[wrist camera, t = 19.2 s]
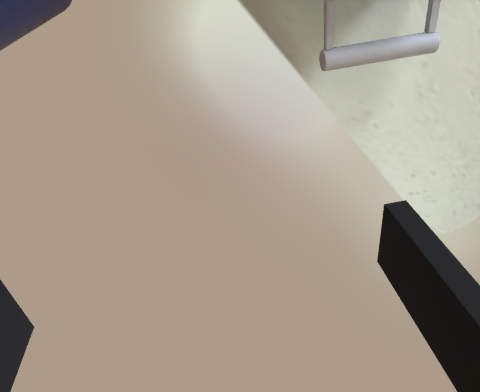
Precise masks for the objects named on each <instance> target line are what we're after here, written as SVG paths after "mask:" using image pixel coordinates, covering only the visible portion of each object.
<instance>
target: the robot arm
mask: <svg viewBox="0 0 480 392" xmlns="http://www.w3.org/2000/svg"><path fill="white" fill-rule="evenodd" d="M377 262H378V263H379V265H380V266H381V268H382V270H383V271H384V273H385V275H386V276H387V278H388V280H389V281H390V283H391V284H392V286H393V288H394V289H395V291H396V292H397V294H398V296H399V297H400V299H401V301H402V302H403V304H404V305H405V307H406V309H407V310H408V312H409V314H410V315H411V317H412V319H413V320H414V322H415V323H416V325H417V327H418V328H419V330H420V332H421V333H422V335H423V336H424V338H425V340H426V341H427V343H428V345H429V346H430V348H431V349H432V351H433V352H434V354H435V356H436V358H437V359H438V361H439V362H440V364H441V365H442V367H443V369H444V371H445V372H446V374H447V375H448V377H449V379H450V380H451V382H452V383H453V385H454V387H455V388H456V390H457V392H480V285H479V284H478V283H477V282H476V281H475V280H474V278H473V277H472V276H471V275H470V274H469V273H468V271H467V270H466V269H465V268H464V267H463V266H462V265H461V263H460V262H459V261H458V260H457V259H456V258H455V256H454V255H453V254H452V253H451V252H450V251H449V250H448V248H447V247H446V246H445V245H444V244H443V243H442V241H441V240H440V239H439V238H438V237H437V236H436V234H435V233H434V232H433V231H432V230H431V229H430V228H429V226H428V225H427V224H426V223H425V222H424V221H423V219H422V218H421V217H420V216H419V215H418V214H417V213H416V211H415V210H414V209H413V208H412V207H411V206H410V204H409V203H408V202H407V201H406V200H405V201H401V202H394V203H389V204H385V205H384V211H383V219H382V228H381V236H380V245H379V252H378V261H377ZM33 329H34V326H33V325H32V323H31V322H30V321H29V319H28V318H27V316H26V315H25V313H24V312H23V311H22V309H21V308H20V307H19V305H18V304H17V302H16V301H15V300H14V298H13V297H12V295H11V294H10V293H9V291H8V290H7V288H6V287H5V286H4V284H3V283H2V281H1V280H0V392H10V391H11V388H12V386H13V383H14V380H15V377H16V375H17V372H18V369H19V367H20V364H21V361H22V358H23V356H24V353H25V350H26V347H27V345H28V342H29V339H30V337H31V334H32V331H33Z"/></svg>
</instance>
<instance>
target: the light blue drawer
mask: <svg viewBox="0 0 480 392" xmlns="http://www.w3.org/2000/svg"><path fill="white" fill-rule="evenodd" d="M440 1H441V0H429V3H428V10H427V17H426V24H425V31H424V33H418V34H412V35H406V36H400V37H394V38H388V39H382V40H376V41H370V42H364V43H358V44H352V45H347V46H341V47H335V48H333V46H334V0H324V49H323V50H321V51H320V57H319V59H320V66H321V69H322V70H323V71H328V70H334V69H340V68H346V67H352V66H358V65H363V64H369V63H375V62H381V61H387V60H393V59H399V58H405V57H411V56H417V55H422V54H428V53H434V52H436V51H437V50H438V48H439V45H440V37H439V34H438V33H437V32H436V26H437V19H438V13H439V7H440Z"/></svg>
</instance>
